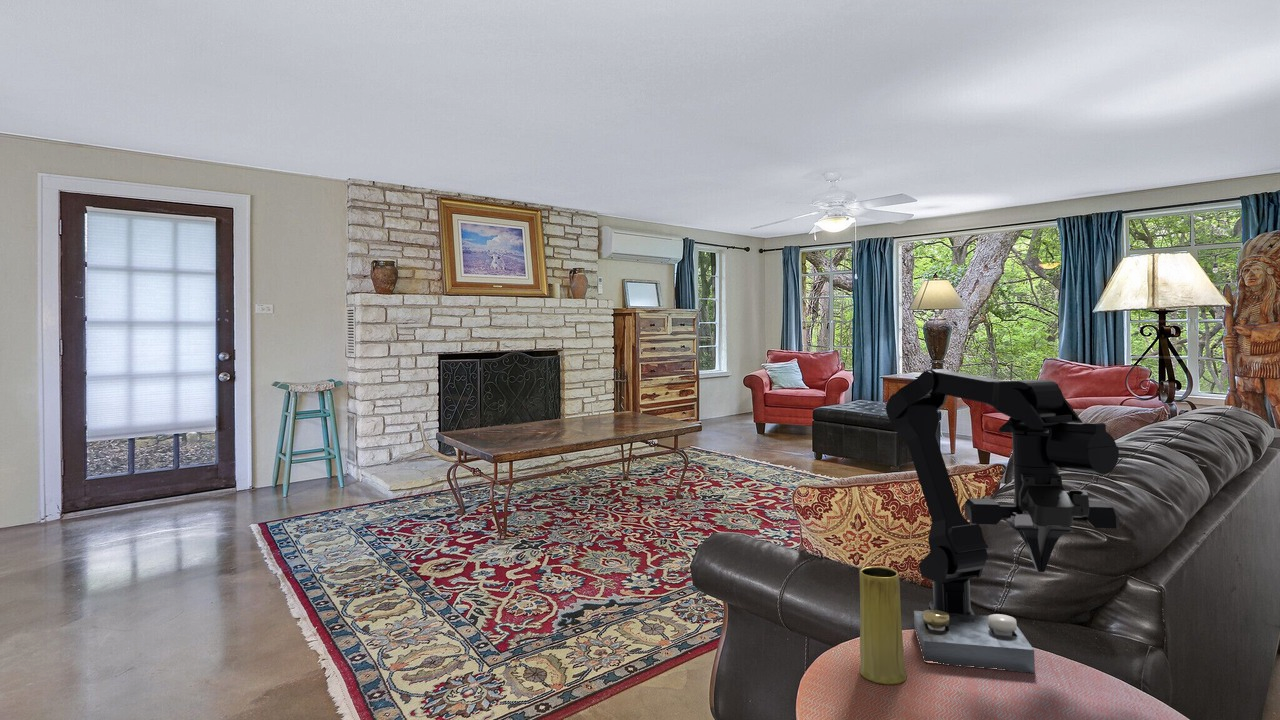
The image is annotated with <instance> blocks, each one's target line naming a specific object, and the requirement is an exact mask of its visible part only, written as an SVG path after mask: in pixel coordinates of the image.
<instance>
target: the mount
mask: <svg viewBox="0 0 1280 720" xmlns="http://www.w3.org/2000/svg"><path fill="white" fill-rule="evenodd" d="M923 611H924V610H913V619H914V620H913V621H914V622H913V623H914V631H915V630H916V632H917V636H918V639H919V642H920V646H921V649H922V653H923V656H924V659H923V661H924V660H925V661H933V662H938V663H941V664H943V663H944V664H949V665H958V666H957V667H960V666H959V665H961V666H974V667H984V668H997V669H1005V670H1012V671H1011V672H1015V671H1019V672H1018V673H1026V672H1028V673H1027V674H1036V667H1035V666H1036V665H1035V649H1034V648H1033V646H1032V645H1031V644H1030V642H1029V640H1028V639H1027V638H1026V636H1025V635H1024V633H1023V632H1022V631H1021V629H1020V628H1019V627H1018V626H1017V630H1016V631H1012V636H1005V635H994V629H993V628H991V627H990V626H989V619H988V616H989V615H982V614H975V615H969V614H955V613H948V614H949V625H948V626H945V631H940V630H928V624H926V623H925V622H924V621H923ZM917 636H916V637H917ZM920 646H919V647H920ZM921 649H920V650H921ZM922 653H921V654H922ZM923 656H922V657H923ZM949 665H948V666H949ZM1029 672H1030V673H1029Z"/></svg>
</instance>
